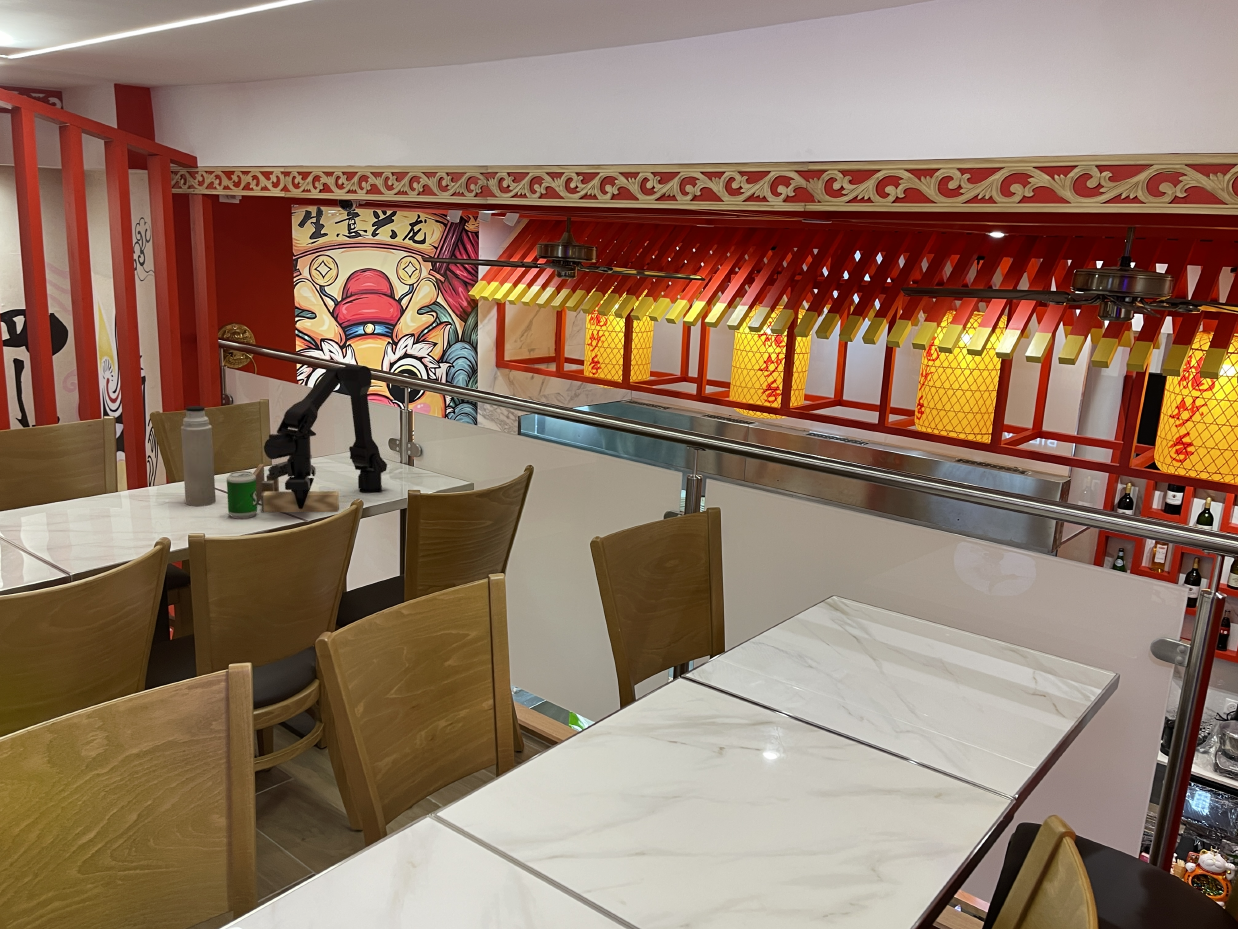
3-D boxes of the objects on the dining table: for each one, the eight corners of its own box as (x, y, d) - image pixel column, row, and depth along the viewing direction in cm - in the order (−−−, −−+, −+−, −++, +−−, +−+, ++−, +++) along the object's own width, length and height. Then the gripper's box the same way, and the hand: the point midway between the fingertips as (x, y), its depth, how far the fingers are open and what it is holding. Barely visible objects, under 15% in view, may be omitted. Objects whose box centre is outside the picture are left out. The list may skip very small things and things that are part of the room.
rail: (338, 507, 274) (338, 491, 273) (337, 511, 271) (337, 494, 270) (263, 508, 270) (263, 491, 269) (261, 512, 267) (260, 495, 265)
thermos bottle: (201, 497, 279) (196, 403, 272) (221, 501, 275) (216, 406, 269) (179, 503, 271) (173, 407, 265) (199, 507, 268) (193, 410, 262)
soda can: (251, 520, 259) (249, 477, 256) (223, 518, 259) (221, 476, 256) (261, 512, 266) (260, 471, 264) (235, 511, 267) (233, 469, 264)
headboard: (280, 492, 287) (279, 464, 285) (272, 507, 272) (270, 476, 270) (260, 493, 286) (259, 464, 284) (251, 507, 271) (250, 477, 269)
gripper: (274, 446, 274) (276, 498, 278) (264, 460, 256) (266, 516, 260) (315, 446, 276) (316, 497, 280) (307, 460, 259) (309, 515, 262)
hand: (301, 506), depth 270 cm, fingers open, 4 cm apart
